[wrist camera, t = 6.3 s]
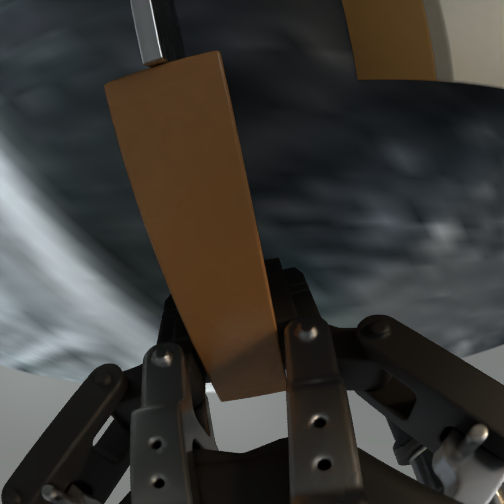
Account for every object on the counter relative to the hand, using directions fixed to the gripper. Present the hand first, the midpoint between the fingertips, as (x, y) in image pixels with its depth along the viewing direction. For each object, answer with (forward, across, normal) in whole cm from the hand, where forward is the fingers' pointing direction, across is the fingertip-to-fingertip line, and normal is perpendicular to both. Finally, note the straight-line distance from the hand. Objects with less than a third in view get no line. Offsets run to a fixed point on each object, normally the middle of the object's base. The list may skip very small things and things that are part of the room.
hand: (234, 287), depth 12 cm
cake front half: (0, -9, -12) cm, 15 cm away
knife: (0, 0, -8) cm, 8 cm away
